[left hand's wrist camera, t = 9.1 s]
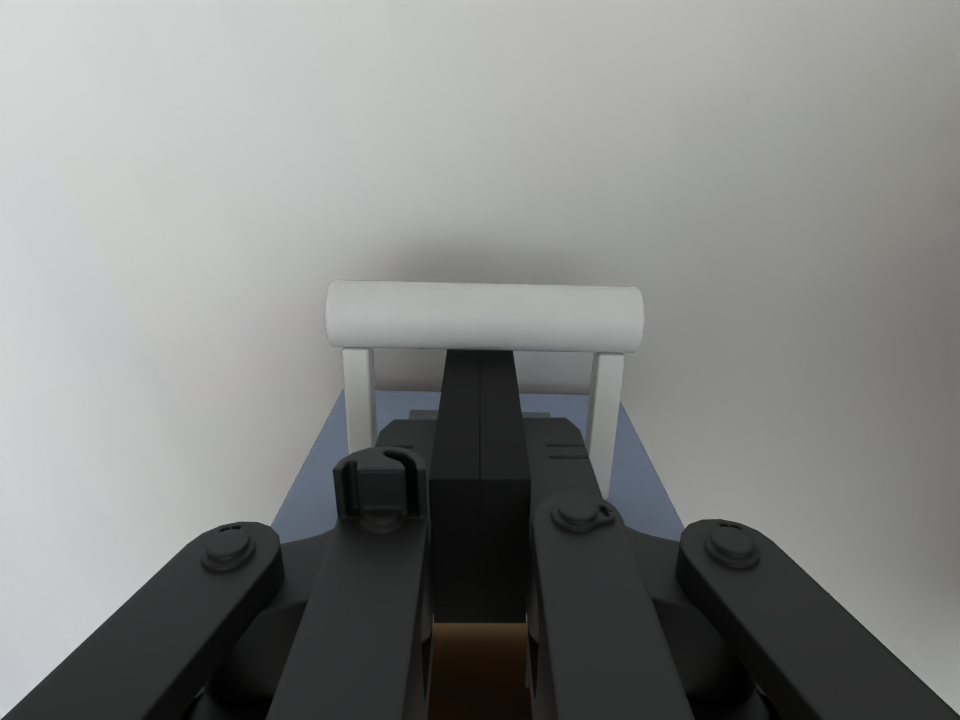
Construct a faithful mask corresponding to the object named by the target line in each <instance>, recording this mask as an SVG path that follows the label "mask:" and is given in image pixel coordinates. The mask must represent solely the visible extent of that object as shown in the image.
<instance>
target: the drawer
mask: <svg viewBox="0 0 960 720" xmlns="http://www.w3.org/2000/svg"><path fill="white" fill-rule="evenodd" d="M644 320H645V311H644V301H643V297H642V293H641V291H640V289H639V288H637V287H626V286H580V285H535V284H490V283H445V282H400V281H355V280H334V281H332V282H331V283H330V284H329V287H328V290H327V294H326V300H325V327H326V333H327V337H328V340H329V343H330V344H331V345H332V346H334V347H344V348H343V350H342V361H343V375H344V389H345V390H342V392H341V394H340V396H339V398H338V400H337V402H336V404H335V406H334V407H333V409H332V411H331V413H330V415H329V417H328V419H327V421H326V423H325V425H324V426H323V428H322V430H321V432H320V434H319V436H318V438H317V440H316V442H315V443H314V445H313V447H312V449H311V451H310V453H309V455H308V457H307V459H306V461H305V462H304V464H303V466H302V468H301V470H300V472H299V474H298V476H297V478H296V480H295V481H294V483H293V485H292V487H291V489H290V491H289V493H288V495H287V497H286V499H285V500H284V502H283V504H282V506H281V508H280V510H279V512H278V514H277V516H276V517H275V519H274V521H273V523H272V525H271V527H272V528H273V530H274V531H275V532H276V533H277V534H278V535H279V539H280V544H283V543H288V542H292V541H297V540H301V539H306V538H310V537H313V536H317V535H320V534H323V533H325V532H327V531H329V530H331V529H333V528H334V527H335V525H336V522H337V519H338V515H337V506H336V497H335V488H334V479H333V469H334V467H335V466H336V465H337V463H338V462H339V461H340V460H341V459H343V458H345V457H346V456H348V455H350V454H351V453H353V452H356V451H360V450H363V449H366V448H370V447H375V445H376V442H377V438H378V435H379V432H380V431H381V430H382V429H383V428H385V427H386V426H387V425H388V424H389V423H390V422H391V421H393V420H394V419H437V417H438V410H439V403H440V397H441V392H432V391H384V390H375V378H374V358H373V347H374V348H421V349H467V350H514V351H560V352H594V354H593V364H592V373H591V383H590V393H589V395H574V394H526V393H519V398H520V405H521V412H522V418H567V419H568V420H569V421H571V422H572V423H573V424H574V425H575V426H576V427H578V428H579V429H580V431H581V434H582V437H583V440H584V443H585V447H586V449H587V452H588V455H589V459H590V461H591V464H592V467H593V470H594V473H595V476H596V479H597V482H598V485H599V488H600V491H601V494H602V497H603V499H604V500H606V501H607V502H609V503H610V504H612V505H613V506H614V507H616V509H617V510H618V512H619V513H620V515H621V516H622V518H623V521H624V524H625V526H627V527H629V528H632V529H634V530H636V531H638V532H641V533H645V534H648V535H651V536H656V537H660V538H665V539H669V540H674V541H679V542H680V538H681V533H682V532H683V530H684V529H685V528H684V526H683V524H682V522H681V520H680V518H679V516H678V514H677V512H676V510H675V508H674V506H673V504H672V502H671V500H670V499H669V497H668V495H667V493H666V491H665V489H664V487H663V485H662V483H661V481H660V479H659V477H658V475H657V473H656V471H655V469H654V467H653V465H652V463H651V461H650V459H649V457H648V455H647V453H646V451H645V449H644V447H643V445H642V443H641V441H640V439H639V437H638V435H637V433H636V431H635V429H634V427H633V425H632V423H631V421H630V419H629V417H628V415H627V413H626V411H625V409H624V408H623V406H622V404H621V402H620V395H621V387H622V378H623V370H624V362H625V356H624V354H623V353H634V352H636V351H637V350H638V348H639V346H640V344H641V341H642V337H643V331H644ZM432 633H433V660H432V672H431V684H430V695H429V707H428V719H427V720H533V718H532V706H531V695H530V687H525V682H526V658H527V633H528V623H527V613H526V623H434V614H433V624H432Z"/></svg>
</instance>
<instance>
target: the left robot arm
mask: <svg viewBox="0 0 960 720" xmlns="http://www.w3.org/2000/svg"><path fill="white" fill-rule="evenodd" d="M333 479H334V488H335V497H336V506H337V515H338V519H337V522H336V525H335V527H334V528H333V529H331V530H329V531H327V532H325V533H323V534H320V535H317V536H313V537H310V538H306V539H301V540H297V541H292V542H288V543H283V544H280V539H279V535H278V534H277V533H276V532H275V531H274V530H273V528H272V527H270V526H267V525H264V524H261V523H258V522H236V523H231V524H226V525H221V526H219V527H216V528H214V529H212V530H209V531H207V532H205V533H202V534H201V535H200V536H198V537H197V538H195V539H194V540H193V541H191V542H190V543H188V544H187V545H186V546H185V547H184V548H183V549H182V550H181V551H180V552H179V553H177V554H176V555H175V556H174V557H173V558H172V559H171V560H170V561H169V562H168V563H167V564H166V565H165V566H164V567H163V568H162V569H160V570H159V571H158V572H157V573H156V574H155V575H154V576H153V577H152V578H151V579H150V580H149V581H148V582H147V583H146V584H145V585H143V586H142V587H141V588H140V589H139V590H138V591H137V592H136V593H135V594H134V595H133V596H132V597H131V598H130V599H129V600H128V601H126V602H125V603H124V604H123V605H122V606H121V607H120V608H119V609H118V610H117V611H116V612H115V613H114V614H113V615H112V616H111V617H109V618H108V619H107V620H106V621H105V622H104V623H103V624H102V625H101V626H100V627H99V628H98V629H97V630H96V631H95V632H94V633H92V634H91V635H90V636H89V637H88V638H87V639H86V640H85V641H84V642H83V643H82V644H81V645H80V646H79V647H78V648H77V649H75V650H74V651H73V652H72V653H71V654H70V655H69V656H68V657H67V658H66V659H65V660H64V661H63V662H62V663H61V664H60V665H58V666H57V667H56V668H55V669H54V670H53V671H52V672H51V673H50V674H49V675H48V676H47V677H46V678H45V679H44V680H43V681H41V682H40V683H39V684H38V685H37V686H36V687H35V688H34V689H33V690H32V691H31V692H30V693H29V694H28V695H27V696H26V697H24V698H23V699H22V700H21V701H20V702H19V703H18V704H17V705H16V706H15V707H14V708H13V709H12V710H11V711H10V712H9V713H7V714H6V715H5V716H4V717H3V718H2V719H1V720H427V719H428V707H429V695H430V684H431V672H432V660H433V633H432V624H433V614H434V623H526V613H527V623H528V633H527V658H526V682H525V687H530V695H531V706H532V718H533V720H960V716H959V715H958V714H957V713H956V712H955V711H954V710H953V709H952V708H951V707H950V706H949V705H947V704H946V703H945V702H944V701H943V700H942V699H941V698H940V697H939V696H938V695H937V694H936V693H935V692H934V691H932V690H931V689H930V688H929V687H928V686H927V685H926V684H925V683H924V682H923V681H922V680H921V679H920V678H919V677H917V676H916V675H915V674H914V673H913V672H912V671H911V670H910V669H909V668H908V667H907V666H906V665H905V664H904V663H902V662H901V661H900V660H899V659H898V658H897V657H896V656H895V655H894V654H893V653H892V652H891V651H890V650H889V649H887V648H886V647H885V646H884V645H883V644H882V643H881V642H880V641H879V640H878V639H877V638H876V637H875V636H874V635H873V634H871V633H870V632H869V631H868V630H867V629H866V628H865V627H864V626H863V625H862V624H861V623H860V622H859V621H858V620H856V619H855V618H854V617H853V616H852V615H851V614H850V613H849V612H848V611H847V610H846V609H845V608H844V607H843V606H841V605H840V604H839V603H838V602H837V601H836V600H835V599H834V598H833V597H832V596H831V595H830V594H829V593H828V592H826V591H825V590H824V589H823V588H822V587H821V586H820V585H819V584H818V583H817V582H816V581H815V580H814V579H813V578H811V577H810V576H809V575H808V574H807V573H806V572H805V571H804V570H803V569H802V568H801V567H800V566H799V565H798V564H796V563H795V562H794V561H793V560H792V559H791V558H790V557H789V556H788V555H787V554H786V553H785V552H784V551H783V550H781V549H780V548H779V547H778V546H777V545H776V544H775V543H774V542H773V541H771V540H770V539H769V538H767V537H766V536H764V535H763V534H762V533H760V532H759V531H757V530H755V529H752V528H750V527H748V526H745V525H743V524H740V523H737V522H732V521H727V520H722V519H709V520H700V521H697V522H695V523H692V524H689V525H688V526H687V527H686V528H685V529H684V530H683V532H682V533H681V538H680V542H679V541H674V540H669V539H665V538H660V537H656V536H651V535H648V534H645V533H641V532H638V531H636V530H634V529H632V528H629V527H627V526H625V524H624V521H623V518H622V516H621V515H620V513H619V512H618V510H617V509H616V507H614V506H613V505H612V504H610V503H609V502H607V501H606V500H604V499H603V497H602V494H601V491H600V488H599V485H598V482H597V479H596V476H595V473H594V470H593V467H592V464H591V461H590V459H589V455H588V452H587V449H586V447H585V443H584V440H583V437H582V434H581V431H580V429H579V428H578V427H576V426H575V425H574V424H573V423H572V422H571V421H569V420H568V419H567V418H522V412H521V405H520V398H519V391H518V384H517V377H516V371H515V364H514V357H513V350H467V349H447V355H446V362H445V369H444V376H443V383H442V390H441V397H440V403H439V410H438V417H437V419H394V420H393V421H391V422H390V423H389V424H388V425H387V426H386V427H385V428H383V429H382V430H381V431H380V432H379V435H378V438H377V442H376V445H375V447H370V448H366V449H363V450H360V451H356V452H353V453H351V454H350V455H348V456H346V457H345V458H343V459H341V460H340V461H339V462H338V463H337V465H336V466H335V467H334V469H333Z"/></svg>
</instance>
